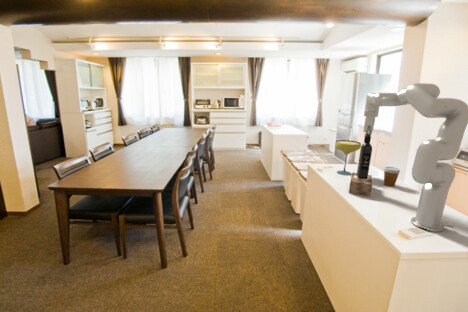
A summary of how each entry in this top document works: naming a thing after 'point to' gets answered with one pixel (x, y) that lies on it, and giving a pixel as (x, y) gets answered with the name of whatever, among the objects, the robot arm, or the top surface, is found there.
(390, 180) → the disposable coffee cup
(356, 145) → the cocktail glass
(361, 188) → the brown rectangular block
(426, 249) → the top surface
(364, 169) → the wine bottle
